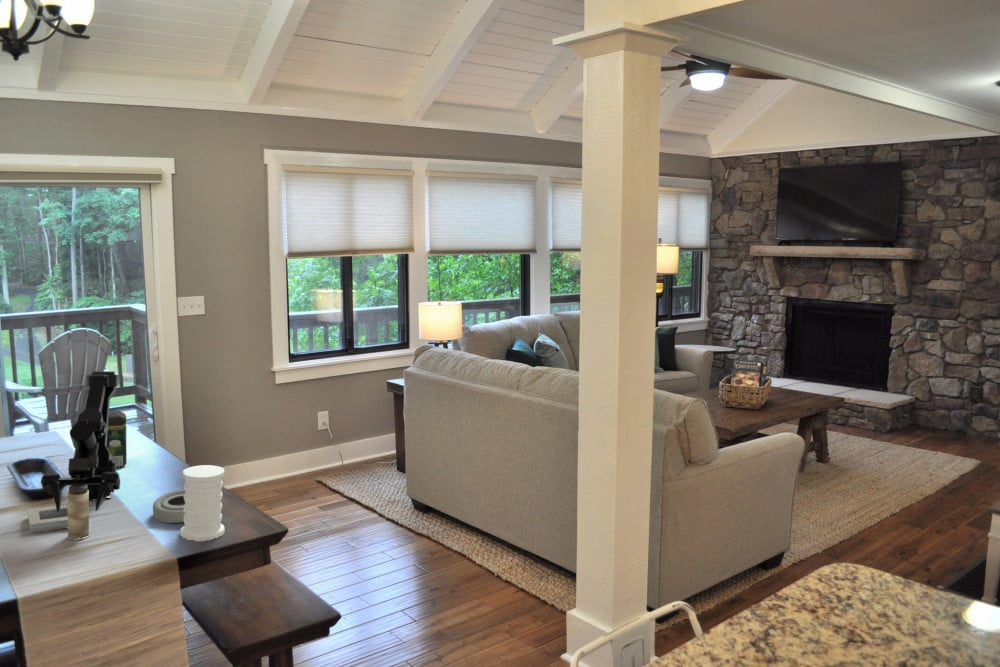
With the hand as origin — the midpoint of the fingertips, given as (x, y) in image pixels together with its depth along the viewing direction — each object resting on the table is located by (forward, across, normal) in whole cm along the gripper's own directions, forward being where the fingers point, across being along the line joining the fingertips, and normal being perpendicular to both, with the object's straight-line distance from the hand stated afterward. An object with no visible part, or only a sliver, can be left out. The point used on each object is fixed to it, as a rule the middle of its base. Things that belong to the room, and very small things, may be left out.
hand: (77, 510), depth 212 cm
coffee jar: (-40, 0, +51) cm, 65 cm away
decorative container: (+6, +32, +5) cm, 33 cm away
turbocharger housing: (-5, +25, +16) cm, 30 cm away
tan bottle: (+4, 0, +6) cm, 8 cm away
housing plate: (-4, -8, +14) cm, 17 cm away
